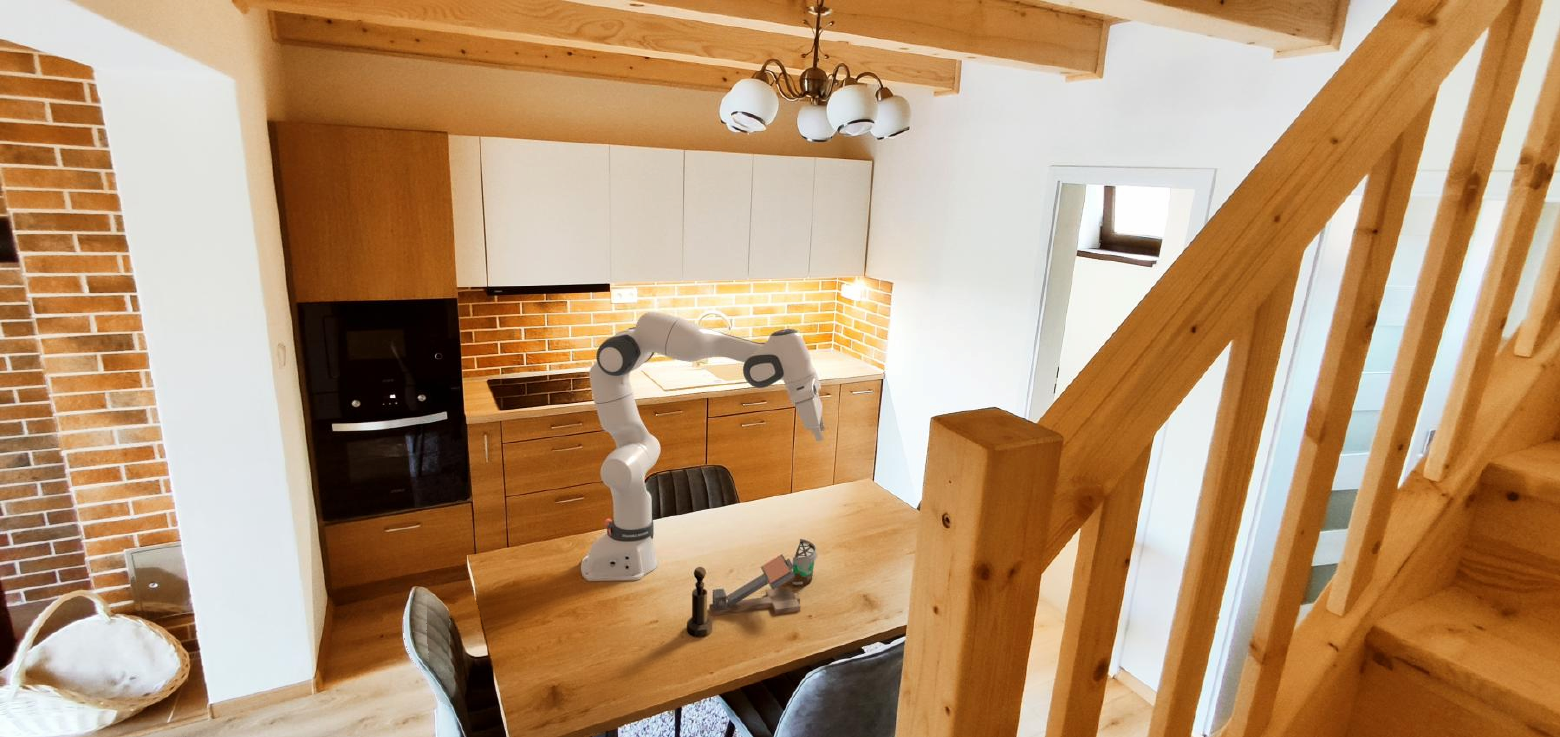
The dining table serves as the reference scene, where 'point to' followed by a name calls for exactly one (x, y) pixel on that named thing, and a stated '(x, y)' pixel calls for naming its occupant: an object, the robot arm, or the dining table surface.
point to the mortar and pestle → (699, 608)
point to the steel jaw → (765, 579)
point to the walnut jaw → (757, 602)
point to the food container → (804, 563)
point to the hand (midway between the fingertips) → (821, 435)
